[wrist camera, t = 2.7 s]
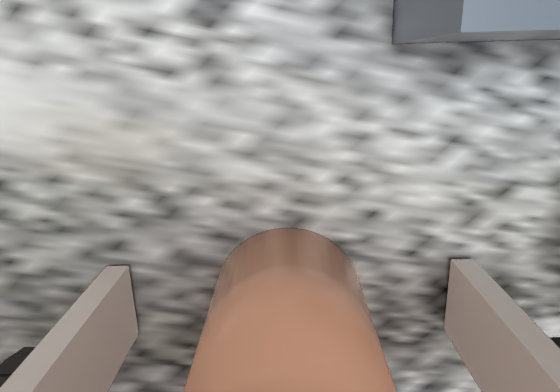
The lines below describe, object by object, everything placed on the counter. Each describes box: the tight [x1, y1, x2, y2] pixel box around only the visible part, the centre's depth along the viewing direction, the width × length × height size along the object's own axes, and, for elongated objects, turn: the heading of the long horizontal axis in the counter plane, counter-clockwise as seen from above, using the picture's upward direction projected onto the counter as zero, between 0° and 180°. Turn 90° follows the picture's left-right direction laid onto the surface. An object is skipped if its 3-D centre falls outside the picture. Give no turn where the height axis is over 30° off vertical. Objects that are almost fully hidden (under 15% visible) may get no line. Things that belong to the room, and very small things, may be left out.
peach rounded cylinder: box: [184, 228, 396, 392], centre depth 11 cm, size 5×5×7 cm
